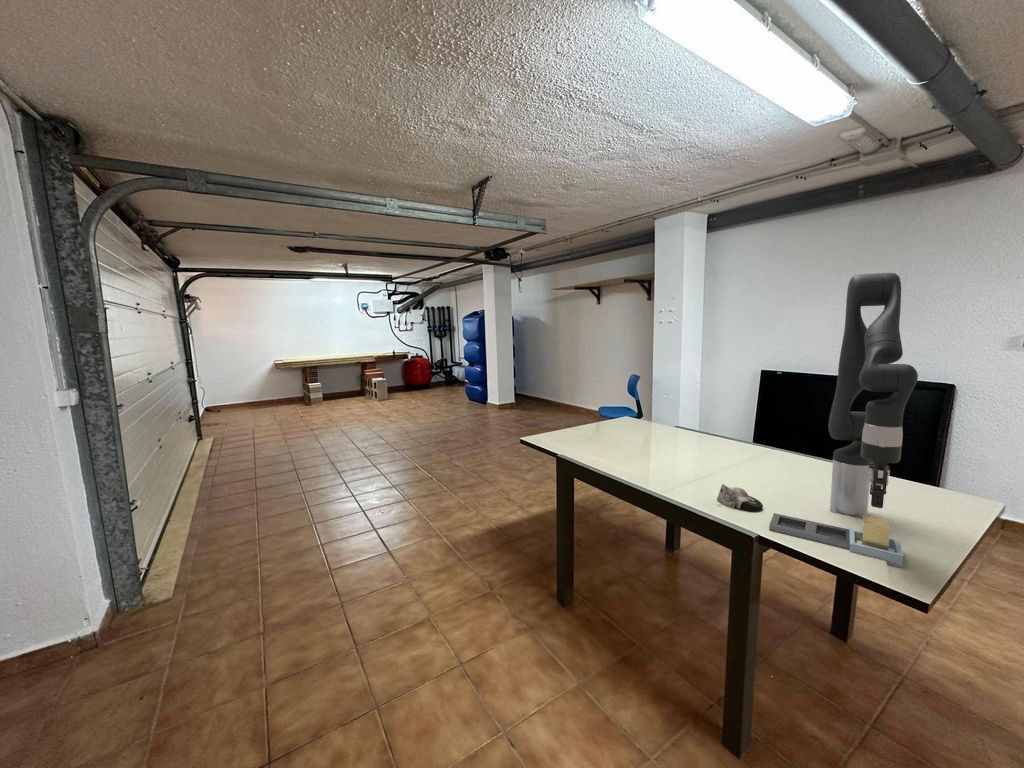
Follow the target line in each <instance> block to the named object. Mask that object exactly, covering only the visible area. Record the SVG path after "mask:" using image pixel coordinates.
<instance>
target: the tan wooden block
mask: <svg viewBox="0 0 1024 768" xmlns="http://www.w3.org/2000/svg"><path fill="white" fill-rule="evenodd" d="M861 524H862V527H861V531H862V537H861V540H860V541H861V542H860V543H861V545H866V546H870V547H874V548H879V549H883V550H887V551H888V549H889V537H890V536H891V535H890V534H891V526H890V522H889V520H887V519H883V518H882V519H881V518H876V517H871V516H868V515H867V516H863V518H862V523H861Z"/></svg>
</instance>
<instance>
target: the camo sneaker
mask: <svg viewBox="0 0 1024 768" xmlns="http://www.w3.org/2000/svg"><path fill="white" fill-rule="evenodd" d="M718 492H719V493H718V495H717V497H716V502H718V503H719V504H720V505H724V506H726V507H728V508H731V509H733V510H734V509H735V507H736V508H737V509H739V510H743V511H744V512H751V513H756V512H761V511H762V510H763V507H764V505H763V503H762V502H761V501H760V500H758V499H757V498H755V497H753V496H751V495H749V494H748V492H747V491H746V490H744V489H742V488H741V487H729V486H727V485H725V484H724V483H722V484H721V486H720V489H719V491H718Z"/></svg>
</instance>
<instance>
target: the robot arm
mask: <svg viewBox="0 0 1024 768" xmlns="http://www.w3.org/2000/svg"><path fill="white" fill-rule="evenodd" d="M901 305H902V281H901V278H900V276H899V275H898V274H897V273H894V272H877V273H876V272H875V273H861V274H855V275H853V276H851V278H850V279H849V282H848V284H847V289H846V305H845V319H844V320H845V321H844V330H843V336H842V344H841V348H840V354H839V359H838V370H837V371H838V372H837V380H836V388H835V392H834V397H833V401H832V405H831V411H830V414H829V418H828V432H829V435H830V437H831V438H832V439H834V440H837V441H850V442H852V443H851V444H849V445H846V446H844V447H840V448H837V449H835V450H834V451H833V454H832V469H831V470H832V472H831V485H830V486H831V487H830V488H831V489H830V500H829V501H830V503H829V511H831V512H832V513H833V514H838V515H844V516H849V517H854V518H858V519H863V516H867V517H868V512H869V511H868V510H869V499H870V506H871V507H873V508H876V509H883V507H884V499H885V496H886V494H887V493H888V492H887V487H888V485H889V477H890V474H891V468H890V466H889V465H888V464H897V463H899V462H900V461H901V456H902V447H903V439H904V438H903V436H904V434H903V424H904V414H905V413H904V412H905V409H906V405H907V403H908V400H909V399H910V396H911V394H912V393H913V390H914V389H915V387H916V385H917V382H918V378H919V375H918V370H917V369H916V368H915V367H914V366H913V365H910V364H907V363H896V362H898V361H899V360H901V358H902V357H903V345H902V340H901V333H900V320H901V319H900V317H901ZM882 306H884V308H883V311H881V313H880V314H879V315H878V316H877V318H875V320H873V322H871V324H870V325H869V326H868V327H867V326H866V324H865V322H864V320H863V317H862V312H861V311H862V310H861V308H862V307H882ZM863 390H865V391H868V392H884V393H885V392H886V393H892V395H890V397H887V398H883V399H875V400H870V401H868V402H867V403H866V404H865V405H866V406H865V411H850V410H851V407H852V404H853V403H854V401H855V399H856V398H857V396H858V395H859V394H860V393H861V392H862V391H863ZM870 496H871V498H869V497H870Z"/></svg>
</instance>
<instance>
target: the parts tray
mask: <svg viewBox="0 0 1024 768" xmlns="http://www.w3.org/2000/svg"><path fill="white" fill-rule="evenodd" d="M849 536H850V547H849V549H848V550H849V552H853V553H856V554H860V555H863V556H869V557H872V558H877V559H880V560H885V561H886V564H887V565H888V566H889V565H890V566H894V567H898V568H903V563H904V554H903V550H902V545H901V542H900V538H899V539H898V538H896V537H895V538H894V537H890V536H889V549H888V551H887V550H883V549H879V548H874V547H870V546H866V545H861V544H860V543H857V542H856V540H860V541H861V537H862V530H858V529H857V530H856V529H851V528H849Z"/></svg>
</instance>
